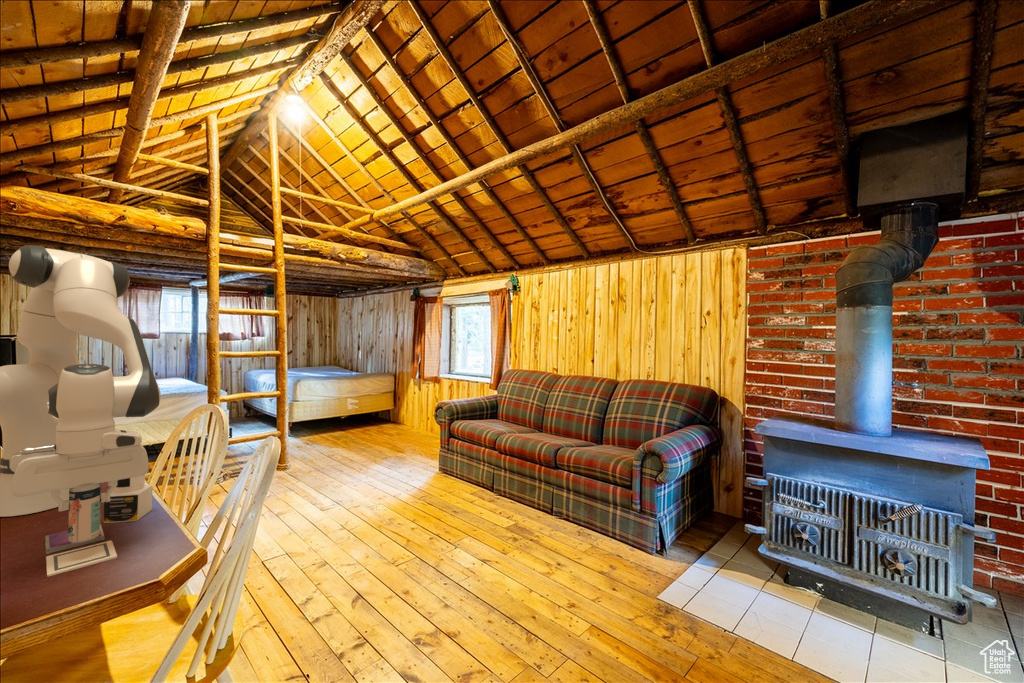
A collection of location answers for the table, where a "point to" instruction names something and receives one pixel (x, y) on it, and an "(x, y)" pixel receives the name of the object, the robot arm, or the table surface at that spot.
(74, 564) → the marked card
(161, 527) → the table surface
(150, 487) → the medicine bottle
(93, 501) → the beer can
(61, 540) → the ink pad
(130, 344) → the robot arm
